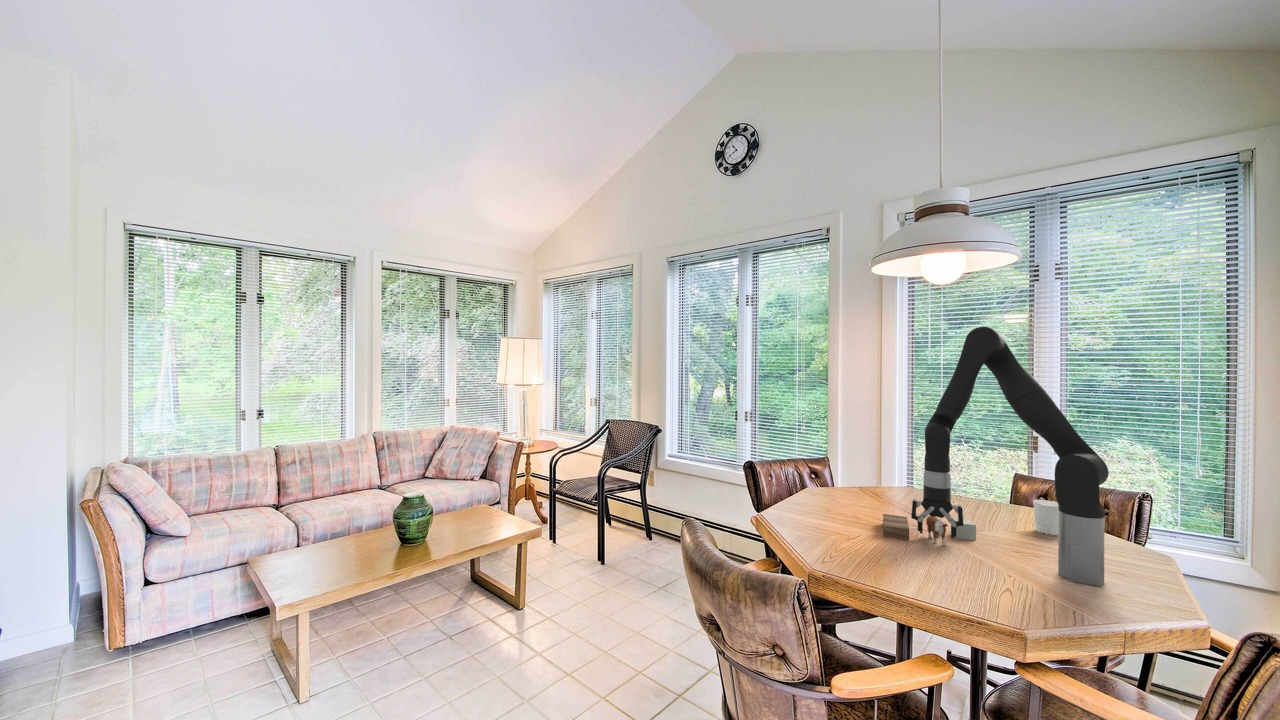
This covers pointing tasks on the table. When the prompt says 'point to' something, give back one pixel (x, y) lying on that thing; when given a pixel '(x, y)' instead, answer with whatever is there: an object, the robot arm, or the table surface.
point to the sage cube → (966, 530)
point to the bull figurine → (936, 529)
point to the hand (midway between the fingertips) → (936, 535)
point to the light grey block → (1046, 516)
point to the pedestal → (895, 527)
